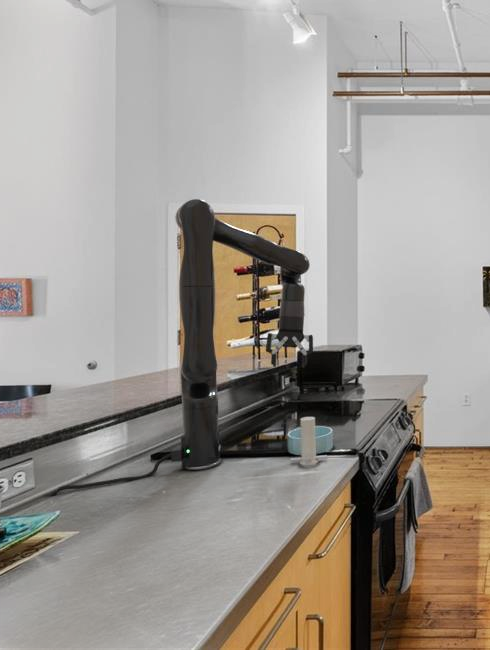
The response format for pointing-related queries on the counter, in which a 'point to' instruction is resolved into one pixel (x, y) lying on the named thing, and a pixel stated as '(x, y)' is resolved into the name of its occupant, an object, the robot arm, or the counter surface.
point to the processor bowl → (322, 440)
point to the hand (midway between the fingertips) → (288, 366)
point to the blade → (308, 443)
